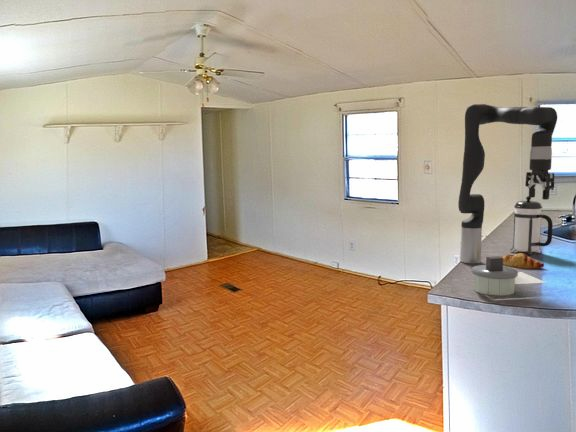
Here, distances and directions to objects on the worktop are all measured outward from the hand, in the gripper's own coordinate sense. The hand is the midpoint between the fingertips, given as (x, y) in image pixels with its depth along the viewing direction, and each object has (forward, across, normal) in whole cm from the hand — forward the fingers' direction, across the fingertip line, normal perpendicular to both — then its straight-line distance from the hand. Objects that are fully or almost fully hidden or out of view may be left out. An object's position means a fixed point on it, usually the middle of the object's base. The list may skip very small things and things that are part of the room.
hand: (538, 198), depth 175 cm
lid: (+27, +11, -24) cm, 38 cm away
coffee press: (+34, -46, +28) cm, 64 cm away
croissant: (+34, -22, +7) cm, 41 cm away
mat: (+34, -2, -7) cm, 35 cm away
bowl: (+34, +11, -24) cm, 43 cm away
